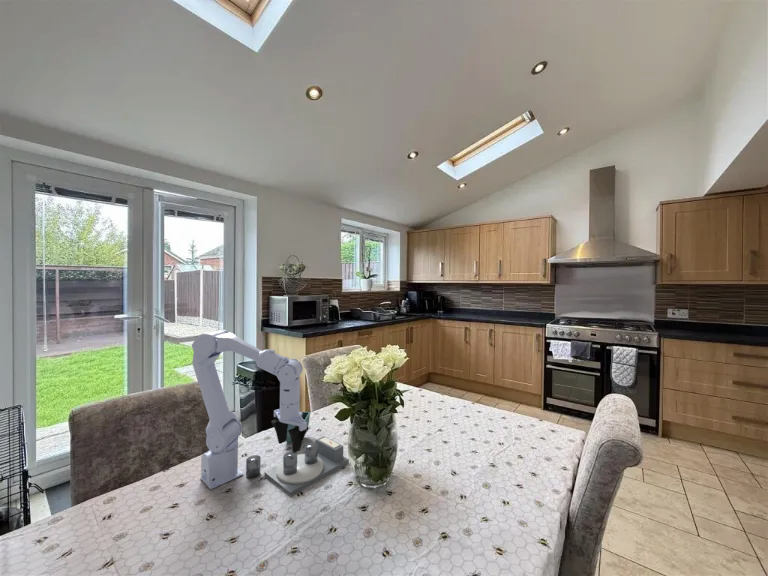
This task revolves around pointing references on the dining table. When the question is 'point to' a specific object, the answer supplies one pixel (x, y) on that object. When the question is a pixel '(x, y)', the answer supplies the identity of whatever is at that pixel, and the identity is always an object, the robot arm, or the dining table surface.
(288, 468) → the cylinder
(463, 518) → the dining table surface
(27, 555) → the dining table surface
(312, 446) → the cylinder
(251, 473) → the cylinder
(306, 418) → the flower pot
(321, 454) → the scale
